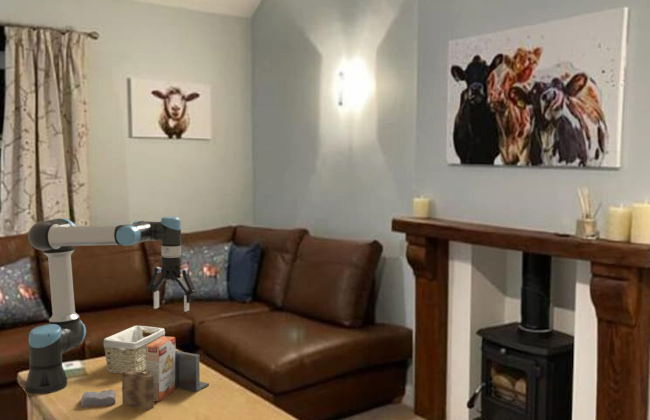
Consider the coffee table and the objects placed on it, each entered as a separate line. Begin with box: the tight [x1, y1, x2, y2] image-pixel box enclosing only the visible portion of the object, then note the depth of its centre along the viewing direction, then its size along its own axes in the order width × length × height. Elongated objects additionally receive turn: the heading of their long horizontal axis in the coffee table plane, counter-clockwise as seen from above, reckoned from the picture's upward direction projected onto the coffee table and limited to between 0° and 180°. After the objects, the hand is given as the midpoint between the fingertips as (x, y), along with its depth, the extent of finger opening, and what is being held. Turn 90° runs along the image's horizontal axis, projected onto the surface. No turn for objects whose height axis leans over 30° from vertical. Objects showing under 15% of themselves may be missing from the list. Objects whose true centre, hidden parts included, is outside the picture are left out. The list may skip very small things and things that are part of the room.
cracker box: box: [145, 336, 176, 402], centre depth 242 cm, size 14×6×21 cm, turn 168°
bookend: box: [175, 350, 210, 393], centre depth 252 cm, size 14×8×14 cm, turn 64°
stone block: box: [80, 389, 117, 408], centre depth 235 cm, size 12×5×10 cm
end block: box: [121, 370, 155, 411], centre depth 231 cm, size 12×3×12 cm, turn 64°
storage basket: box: [103, 325, 166, 375], centre depth 274 cm, size 24×16×15 cm
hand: (171, 309), depth 252 cm, fingers open, 13 cm apart
